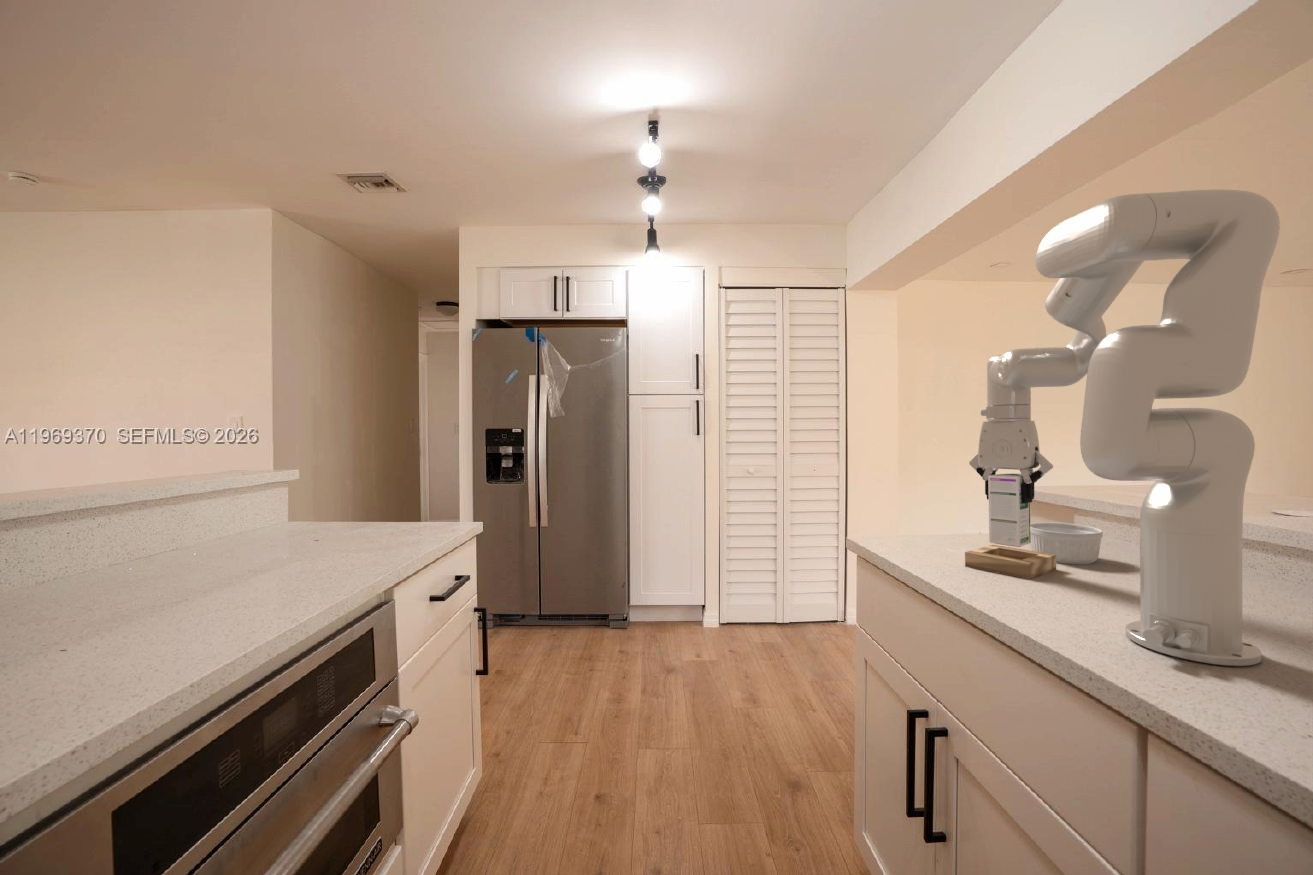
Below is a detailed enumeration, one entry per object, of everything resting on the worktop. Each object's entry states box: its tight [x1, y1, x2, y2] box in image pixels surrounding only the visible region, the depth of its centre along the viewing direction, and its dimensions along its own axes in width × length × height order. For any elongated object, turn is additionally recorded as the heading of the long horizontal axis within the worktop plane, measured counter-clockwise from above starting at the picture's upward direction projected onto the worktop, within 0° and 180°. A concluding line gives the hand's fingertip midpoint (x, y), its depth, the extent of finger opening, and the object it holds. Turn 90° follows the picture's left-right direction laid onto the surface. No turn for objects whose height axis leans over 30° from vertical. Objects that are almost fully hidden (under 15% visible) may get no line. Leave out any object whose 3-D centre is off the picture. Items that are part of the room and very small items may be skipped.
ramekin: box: [1029, 521, 1104, 565], centre depth 117 cm, size 13×13×7 cm
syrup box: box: [988, 472, 1031, 548], centre depth 110 cm, size 6×6×14 cm
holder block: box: [964, 544, 1057, 580], centre depth 110 cm, size 12×12×3 cm
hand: (1009, 499), depth 110 cm, fingers closed on syrup box, 5 cm apart
